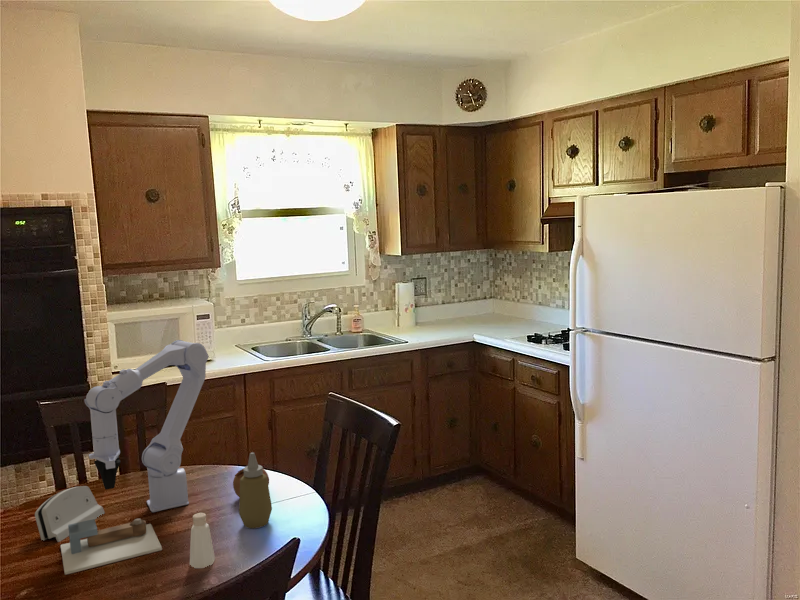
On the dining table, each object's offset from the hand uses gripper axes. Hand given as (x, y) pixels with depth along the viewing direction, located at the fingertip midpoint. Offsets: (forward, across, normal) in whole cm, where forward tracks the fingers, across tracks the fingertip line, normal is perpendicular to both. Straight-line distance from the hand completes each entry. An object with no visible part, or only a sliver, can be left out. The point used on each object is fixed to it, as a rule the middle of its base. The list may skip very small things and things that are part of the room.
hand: (109, 487), depth 167 cm
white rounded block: (+10, -5, -9) cm, 14 cm away
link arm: (+8, +11, 0) cm, 14 cm away
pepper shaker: (+10, +32, +14) cm, 36 cm away
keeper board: (+9, +14, -2) cm, 17 cm away
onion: (+10, +4, +34) cm, 36 cm away
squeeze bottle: (+10, +20, +30) cm, 38 cm away
